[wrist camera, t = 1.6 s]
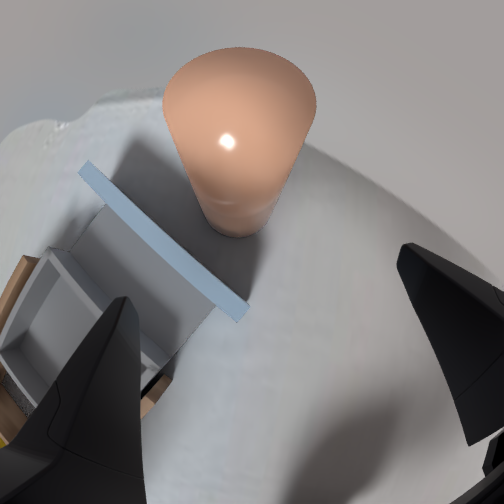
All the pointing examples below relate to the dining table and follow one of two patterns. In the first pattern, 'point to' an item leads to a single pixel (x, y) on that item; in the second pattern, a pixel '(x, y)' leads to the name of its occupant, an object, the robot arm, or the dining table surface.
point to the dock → (3, 406)
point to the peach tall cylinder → (238, 132)
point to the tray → (109, 293)
